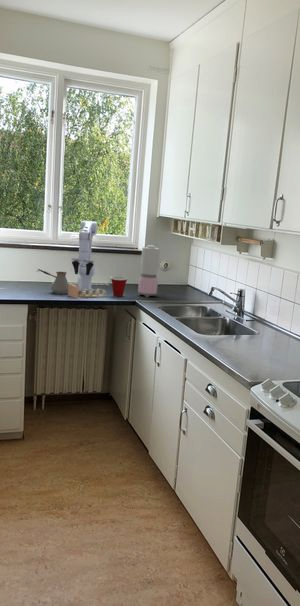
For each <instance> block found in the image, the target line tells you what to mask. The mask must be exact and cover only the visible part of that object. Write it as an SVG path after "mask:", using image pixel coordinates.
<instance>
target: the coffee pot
mask: <svg viewBox="0 0 300 606" xmlns="http://www.w3.org/2000/svg"><path fill="white" fill-rule="evenodd" d="M39 272H40V273H41V272H42V273H43V274H45V275H48V276H51V277H53V278H55V279H54V281H53V283H52V286H51V291H52V292H53V293H54V294H56V295H68V284H69V282H68V279H67V277H66V275H67V271H56V272H55V273H56V275H53V274H51V273H49V272H48V271H45V270H43V269H39V268H38V269H37V273H39Z"/></svg>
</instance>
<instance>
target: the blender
mask: <svg viewBox="0 0 300 606" xmlns="http://www.w3.org/2000/svg"><path fill="white" fill-rule="evenodd" d="M159 262H160V248H158V247H156V246H155V245H148V244H147V245H146V246H142V248H141V255H140V269H141V270H140V271H141V274H140V276H139V278H138V286H137V287H138V288H137V295H138V296H139V297H140V296H141V295H143V296H145V298H149V297H150V296H155V297H157V293H158V283H159V282H158V281H159V280H158V278H157V272H158V268H159V264H160V263H159Z"/></svg>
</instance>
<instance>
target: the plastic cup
mask: <svg viewBox="0 0 300 606" xmlns="http://www.w3.org/2000/svg"><path fill="white" fill-rule="evenodd" d="M110 280H111V285H112V286H111V287H112V294H113V297H116V296H117V297H119V298H122V297H123V296H124V291H125V288H126V284H127V280H128V277H127V276H124V275H113V276H110ZM121 296H122V297H121Z"/></svg>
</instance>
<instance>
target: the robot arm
mask: <svg viewBox="0 0 300 606" xmlns="http://www.w3.org/2000/svg"><path fill="white" fill-rule="evenodd" d="M80 223H81V224H80V230H81V231H79V233H78V244H79V246H78V258H77V257H71V264H72V267H73V269H74V270H73V271H74V274H75V275H79V276H78V278H77V285H76V286H79V290H82V291H83V289H86V290H89V291H90V288H91V289H92V282H93V281H92V280H93V277H94V275H95V268H96V267H95V265H96V264H95V260H93V259H92V246H93V239H94V236H96V235H97V233H98V232H97V230H98V222H97V221H92V220H82V221H80Z"/></svg>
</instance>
